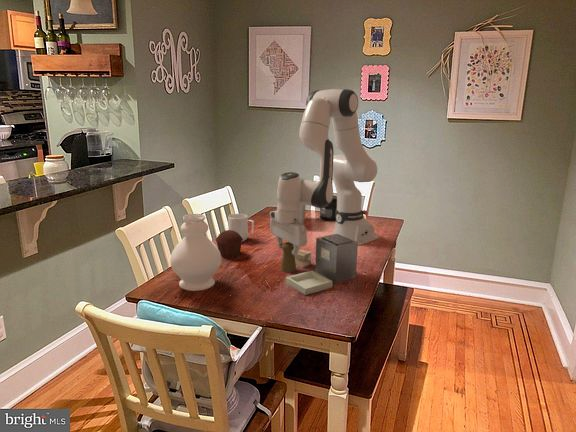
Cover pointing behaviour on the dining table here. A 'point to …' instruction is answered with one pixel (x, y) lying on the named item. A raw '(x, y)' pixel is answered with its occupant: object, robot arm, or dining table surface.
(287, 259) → the cork
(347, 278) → the box
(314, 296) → the dining table surface
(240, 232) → the mug
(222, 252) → the muffin
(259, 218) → the dining table surface
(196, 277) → the decorative vase
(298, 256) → the maple block
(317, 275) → the tray
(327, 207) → the supplement container
